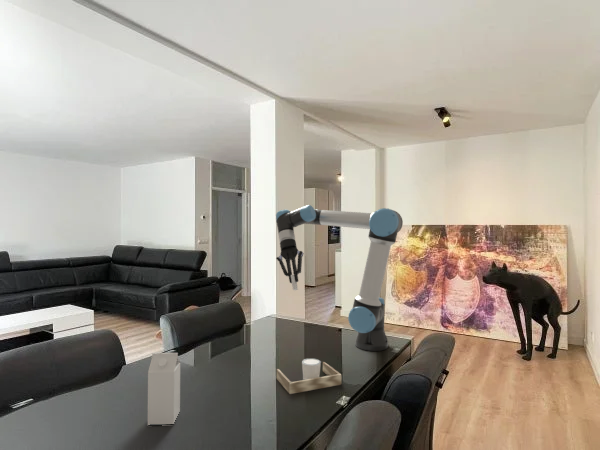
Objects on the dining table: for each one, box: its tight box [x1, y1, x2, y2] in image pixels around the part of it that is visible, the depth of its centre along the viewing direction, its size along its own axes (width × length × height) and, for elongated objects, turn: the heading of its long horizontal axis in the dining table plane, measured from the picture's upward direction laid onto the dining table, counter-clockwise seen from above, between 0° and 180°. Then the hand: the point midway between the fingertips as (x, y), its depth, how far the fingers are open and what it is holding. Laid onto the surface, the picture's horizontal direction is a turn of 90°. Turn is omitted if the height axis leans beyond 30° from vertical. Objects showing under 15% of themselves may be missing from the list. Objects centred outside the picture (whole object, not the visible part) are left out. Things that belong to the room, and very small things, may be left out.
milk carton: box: [147, 352, 181, 426], centre depth 104 cm, size 7×7×19 cm
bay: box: [276, 361, 342, 395], centre depth 131 cm, size 20×13×4 cm
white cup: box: [301, 358, 322, 380], centre depth 131 cm, size 7×7×7 cm
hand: (295, 289), depth 162 cm, fingers closed
